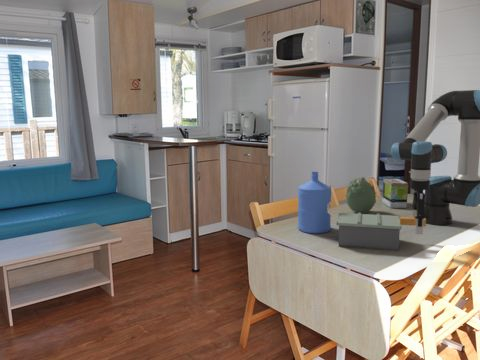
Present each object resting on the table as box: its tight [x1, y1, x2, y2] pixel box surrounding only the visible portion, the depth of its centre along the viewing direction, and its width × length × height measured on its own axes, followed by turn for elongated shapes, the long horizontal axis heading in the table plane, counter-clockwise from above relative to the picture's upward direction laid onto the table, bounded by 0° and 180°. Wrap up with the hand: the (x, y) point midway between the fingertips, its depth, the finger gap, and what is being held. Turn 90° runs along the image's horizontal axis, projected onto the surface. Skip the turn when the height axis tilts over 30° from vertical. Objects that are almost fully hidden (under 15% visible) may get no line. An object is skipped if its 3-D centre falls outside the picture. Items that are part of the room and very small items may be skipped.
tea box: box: [381, 178, 409, 209], centre depth 251 cm, size 15×10×15 cm
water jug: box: [297, 171, 332, 234], centre depth 204 cm, size 16×16×28 cm
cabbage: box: [345, 176, 377, 214], centre depth 234 cm, size 16×19×20 cm
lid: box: [336, 212, 427, 230], centre depth 183 cm, size 36×17×3 cm, turn 74°
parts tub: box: [338, 226, 401, 252], centre depth 185 cm, size 24×16×9 cm, turn 74°
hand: (417, 229), depth 179 cm, fingers open, 13 cm apart
